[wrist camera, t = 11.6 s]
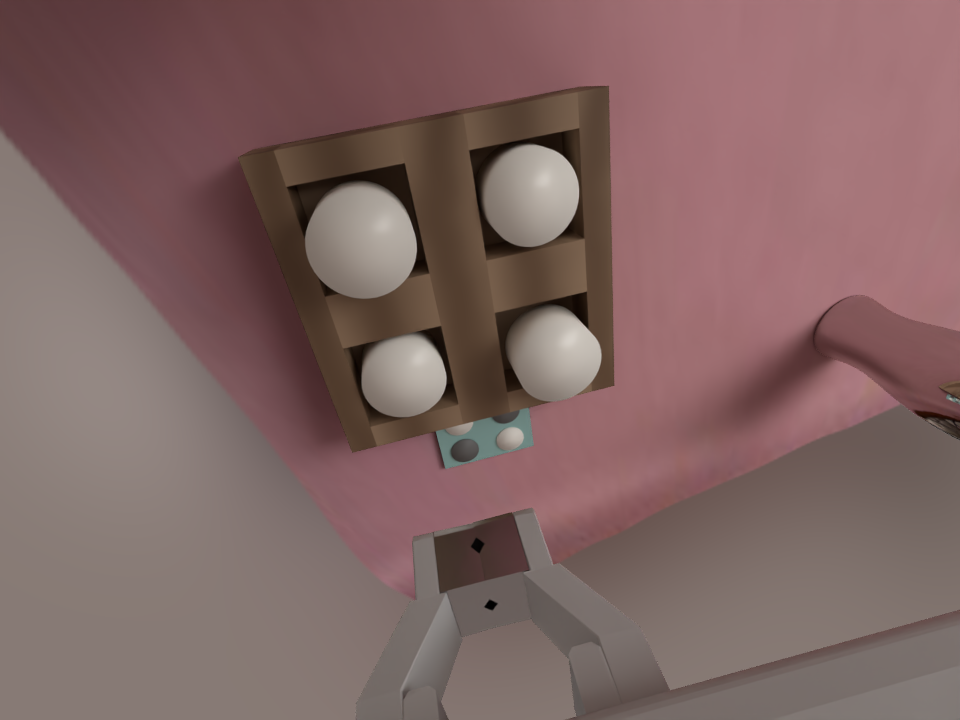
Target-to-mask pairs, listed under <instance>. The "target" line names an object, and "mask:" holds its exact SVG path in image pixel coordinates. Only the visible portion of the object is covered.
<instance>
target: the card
mask: <svg viewBox="0 0 960 720" xmlns="http://www.w3.org/2000/svg"><path fill="white" fill-rule="evenodd" d="M436 435H437V438H438V442H439V446H440V450H441V454H442V457H443V461H444V465H445V469H447V468H451V467H455V466H458V465H462V464H466V463H470V462H474V461H477V460H481V459H485V458H489V457H493V456H496V455H500V454H504V453H508V452H511V451H515V450H519V449H523V448H527V447H530V446H534V444H533V436H532V429H531V421H530V414H529V408H525V409H521V410H517V411H513V412H509V413H505V414H501V415H497V416H494V417H490V418H486V419H482V420H478V421H474V422H470V423H466V424H462V425H458V426H454V427H451V428H447V429H443V430H439V431H436Z"/></svg>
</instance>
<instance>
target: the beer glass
mask: <svg viewBox="0 0 960 720" xmlns="http://www.w3.org/2000/svg"><path fill="white" fill-rule="evenodd" d="M814 343H815V347H816V349H817V350H818V352H819V353H821V354H822V355H824V356H826V357H829V358H831V359H834V360H837V361H840V362H843V363H846V364H848V365H850V366H852V367H854V368H856V369H858V370H859V371H861V372H863V373H864V374H866V375H867V376H868V377H869V378H871V379H872V380H873V381H874V382H876V383H877V384H878V385H879V386H880V387H881V388H883V389H884V390H885V391H886V392H887V393H888V394H890V395H891V396H892V397H893V398H894V399H896V400H897V401H898V402H899V403H900V404H902V405H903V406H905V407H906V408H907V409H908V410H910V411H911V412H912V413H914V414H915V415H917V416H918V417H920V418H921V419H923V420H925V421H926V422H928V423H929V424H931V425H932V426H934V427H936V428H937V429H939V430H941V431H943V432H945V433H946V434H948V435H950V436H952V437H954V438H956V439H958V440H960V331H956V330H952V329H948V328H944V327H940V326H935V325H931V324H926V323H923V322H919V321H915V320H911V319H908V318H905V317H903V316H900V315H898V314H896V313H894V312H892V311H890V310H889V309H887V308H886V307H884V306H883V305H881V304H880V303H878V302H877V301H875V300H874V299H872V298H870V297H868V296H864V295H856V296H851V297H848V298H846V299H844V300H842V301H840V302H838V303H837V304H836V305H834V306H833V307H832V308H831V309H830V310H829V311H828V312H827V313H826V314H825V315H824V316H823V318H822V319H821V321H820V322H819V324H818V326H817V329H816V332H815V336H814Z"/></svg>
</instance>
